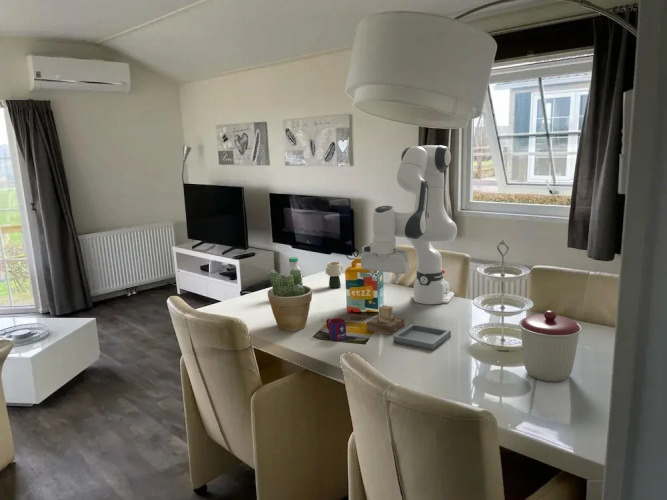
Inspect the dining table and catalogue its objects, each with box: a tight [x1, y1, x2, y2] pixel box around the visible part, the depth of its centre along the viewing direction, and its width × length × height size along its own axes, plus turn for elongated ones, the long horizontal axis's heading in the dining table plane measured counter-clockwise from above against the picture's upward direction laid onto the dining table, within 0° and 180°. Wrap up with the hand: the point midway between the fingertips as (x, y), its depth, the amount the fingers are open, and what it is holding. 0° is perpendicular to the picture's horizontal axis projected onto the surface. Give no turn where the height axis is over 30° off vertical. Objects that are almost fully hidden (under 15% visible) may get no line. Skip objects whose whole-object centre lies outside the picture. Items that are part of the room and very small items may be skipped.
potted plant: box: [266, 268, 313, 332], centre depth 216 cm, size 18×19×25 cm
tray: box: [392, 323, 452, 352], centre depth 198 cm, size 16×16×2 cm
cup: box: [325, 317, 347, 341], centre depth 205 cm, size 7×10×7 cm
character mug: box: [325, 261, 344, 288], centre depth 274 cm, size 11×7×13 cm, turn 128°
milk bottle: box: [286, 256, 303, 284], centre depth 258 cm, size 8×8×20 cm
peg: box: [378, 304, 394, 323], centre depth 211 cm, size 4×4×9 cm
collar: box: [366, 314, 406, 336], centre depth 211 cm, size 11×11×4 cm
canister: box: [518, 309, 583, 383], centre depth 163 cm, size 18×18×21 cm
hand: (384, 282), depth 208 cm, fingers open, 8 cm apart
